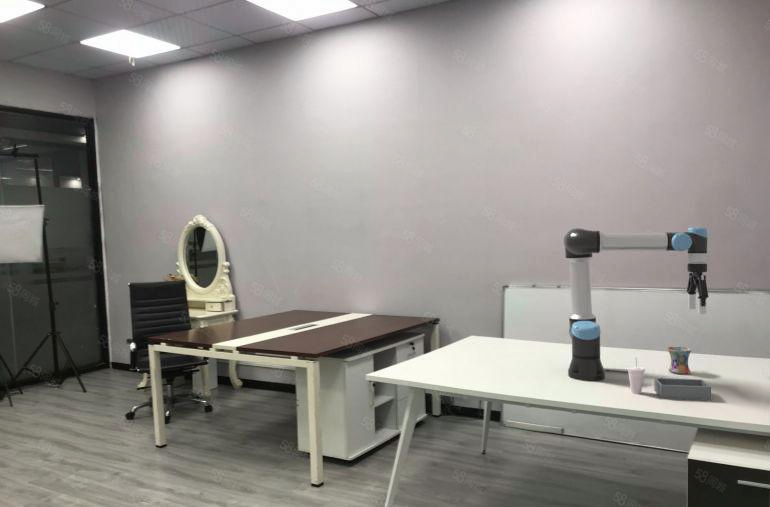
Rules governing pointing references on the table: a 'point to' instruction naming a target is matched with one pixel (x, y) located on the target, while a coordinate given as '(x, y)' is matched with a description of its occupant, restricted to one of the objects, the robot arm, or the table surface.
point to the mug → (679, 360)
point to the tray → (682, 389)
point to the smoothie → (636, 377)
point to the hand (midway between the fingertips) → (697, 311)
